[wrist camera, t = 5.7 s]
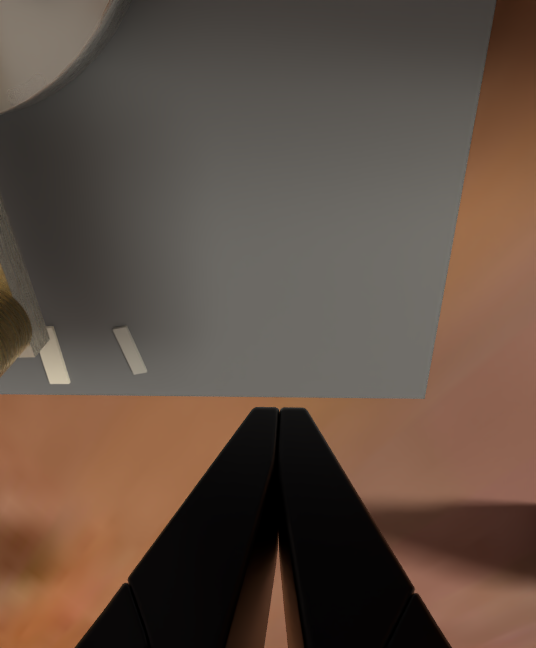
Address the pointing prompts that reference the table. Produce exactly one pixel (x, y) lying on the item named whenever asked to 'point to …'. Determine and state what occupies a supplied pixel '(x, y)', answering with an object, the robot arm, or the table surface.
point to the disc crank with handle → (27, 89)
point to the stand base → (248, 198)
